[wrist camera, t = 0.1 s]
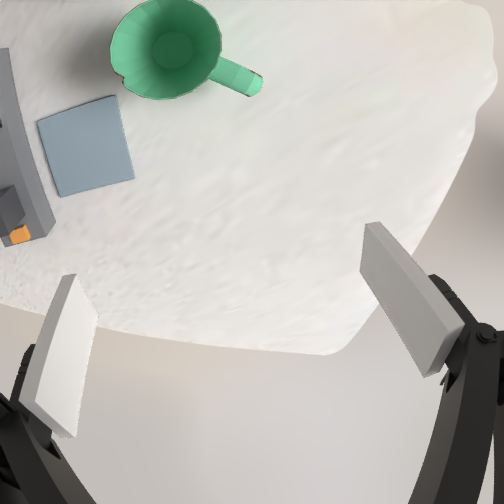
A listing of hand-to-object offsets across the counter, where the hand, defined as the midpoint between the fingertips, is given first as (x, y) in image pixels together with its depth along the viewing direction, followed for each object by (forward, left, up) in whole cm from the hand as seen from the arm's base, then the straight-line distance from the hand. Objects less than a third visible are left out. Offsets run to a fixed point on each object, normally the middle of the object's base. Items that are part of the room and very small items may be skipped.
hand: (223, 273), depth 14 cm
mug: (-9, 0, -28) cm, 30 cm away
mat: (-1, -15, -28) cm, 32 cm away
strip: (-9, -27, -28) cm, 40 cm away
